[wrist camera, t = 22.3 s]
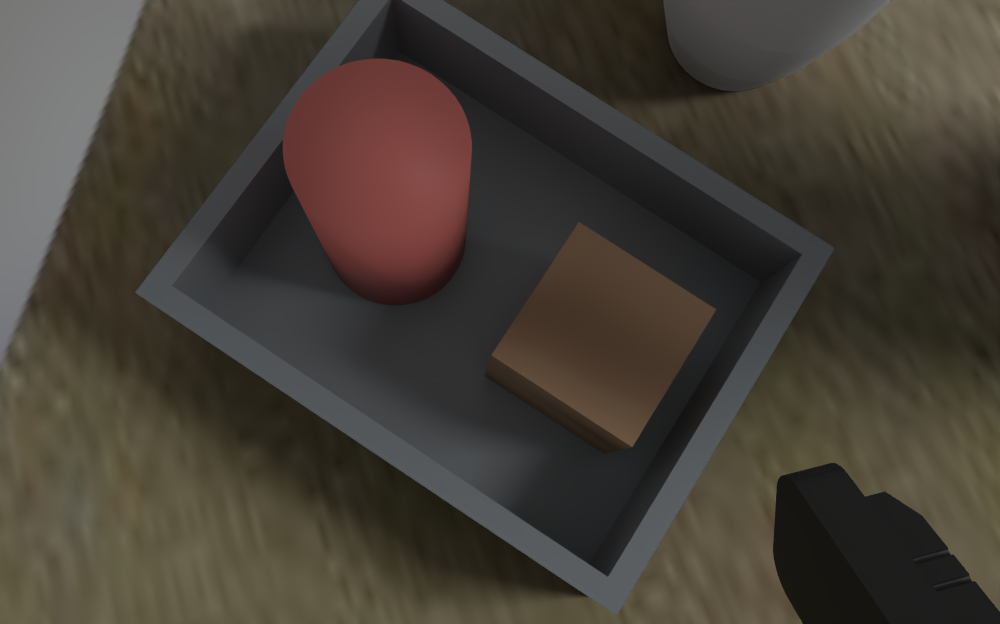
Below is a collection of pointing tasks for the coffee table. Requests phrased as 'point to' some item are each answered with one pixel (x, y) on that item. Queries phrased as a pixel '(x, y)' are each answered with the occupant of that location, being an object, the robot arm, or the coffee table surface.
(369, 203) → the red capsule
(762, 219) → the tote
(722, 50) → the cup
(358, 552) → the coffee table surface
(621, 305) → the walnut cube
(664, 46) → the coffee table surface
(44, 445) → the coffee table surface
